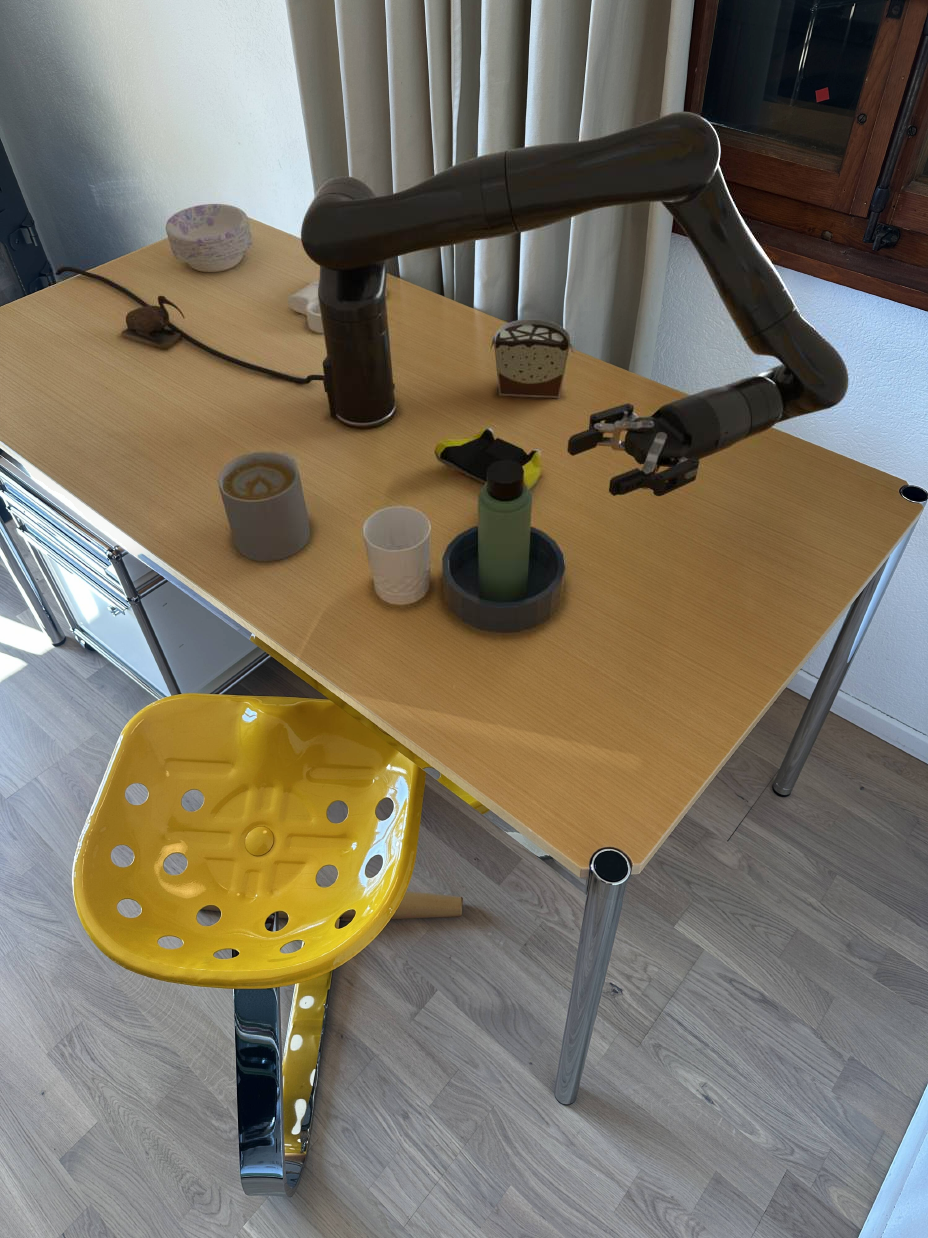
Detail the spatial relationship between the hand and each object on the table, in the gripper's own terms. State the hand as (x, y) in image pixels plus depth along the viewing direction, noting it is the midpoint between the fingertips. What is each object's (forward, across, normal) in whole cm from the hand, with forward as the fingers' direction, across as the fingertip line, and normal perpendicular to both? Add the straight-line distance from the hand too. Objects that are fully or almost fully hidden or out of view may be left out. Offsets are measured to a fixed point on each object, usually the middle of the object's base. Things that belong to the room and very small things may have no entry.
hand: (589, 467), depth 100 cm
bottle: (+11, 0, +14) cm, 18 cm away
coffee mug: (+31, -25, +15) cm, 43 cm away
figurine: (+32, -80, +15) cm, 88 cm away
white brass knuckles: (+1, -75, +15) cm, 76 cm away
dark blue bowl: (+11, 0, +15) cm, 19 cm away
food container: (-15, -37, +15) cm, 43 cm away
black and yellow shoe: (+1, -20, +15) cm, 25 cm away
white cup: (+22, -7, +15) cm, 27 cm away
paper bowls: (+15, -104, +15) cm, 106 cm away
